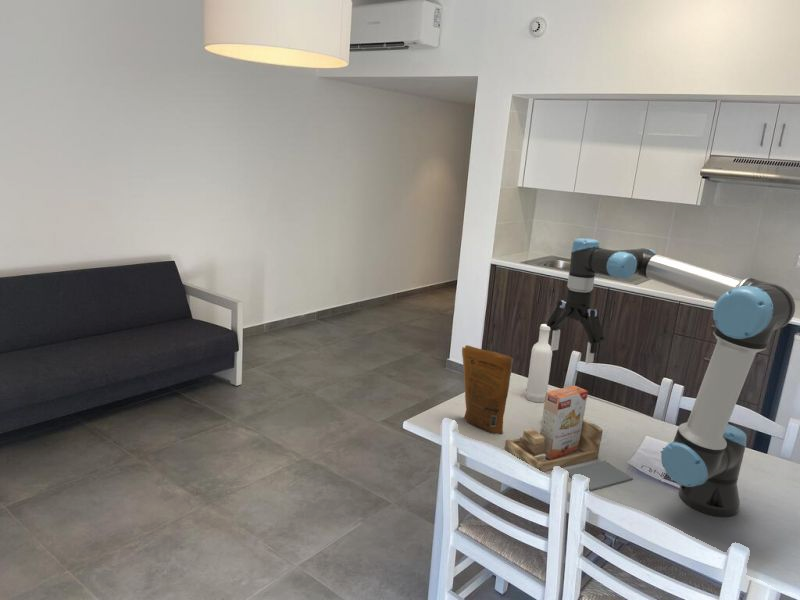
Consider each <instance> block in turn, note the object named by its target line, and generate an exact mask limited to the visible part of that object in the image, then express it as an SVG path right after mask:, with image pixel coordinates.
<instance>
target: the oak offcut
mask: <svg viewBox="0 0 800 600" xmlns="http://www.w3.org/2000/svg"><path fill="white" fill-rule="evenodd" d="M522 433H523V435H522V437H523V438H524V439H525V440H526V441H528V442H529V443H530V444H532V445H533V446H534V447H535V446H541V445H544V440H545V437H543V436H542V435H541V434H540V432H538V431H537V430H535V429H534V428H532V429H531V428H530V429H524V430H523V432H522Z"/></svg>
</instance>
